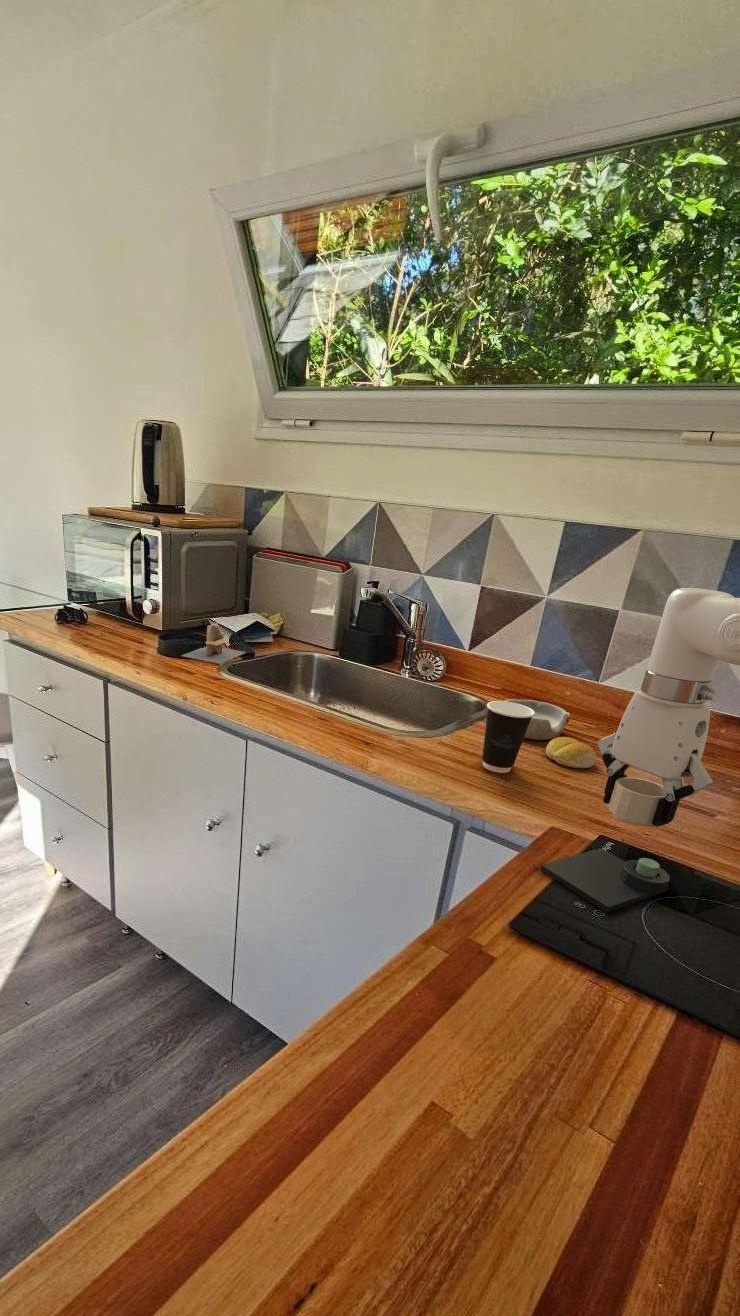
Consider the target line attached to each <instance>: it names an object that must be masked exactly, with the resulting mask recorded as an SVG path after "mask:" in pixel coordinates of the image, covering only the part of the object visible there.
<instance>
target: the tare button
mask: <svg viewBox="0 0 740 1316" xmlns="http://www.w3.org/2000/svg"><path fill="white" fill-rule="evenodd" d="M638 860H639V861H638V864H637V867H636V872H637V873H639V874H641V875H643V876H646V877H652V878H655V877H656V876H657V873H658V870H659V868H661V865H660V863H658V862H657V861H656V860H654V859H651V858H646V857H641V858H639V859H638Z"/></svg>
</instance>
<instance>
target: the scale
mask: <svg viewBox="0 0 740 1316" xmlns="http://www.w3.org/2000/svg"><path fill="white" fill-rule="evenodd" d="M638 861H639V859H629V860H623V859H621V858H620V857H617V856H616V855H615V854H612V853H611V852H609V851H607V850H606V849H604V848H601V847H600V848H597V849H593V850H589V851H586V852H582V853H579V854H575V855H572V856H568V857H564V858H561V859H557V860H555V861H554V860H553V861H551V862H547V863H544V864H541V866H540V870H539V871H541V872H542V873H544V874H545V875H547V876H549V877H550V878H552V879H553V880H555V881H556V882H558V883H559V884H561V885H562V886H564V887H565V888H567V889H569V890H570V891H572V892H573V893H575V894H577V896H580V897H581V898H583V899H584V900H586V901H587V902H589V903H591V904H592V905H593V906H595V907H597V908H599V910H601V911H603V912H605V913H607V914H608V913H611V912H614V911H616V910H619V909H622V908H624V907H627V906H630V905H632V904H635V903H639V902H641V901H643V900H646V899H650V898H652V897H655V896H657V895H660V894H663V893H666V892H668V889H669V884H670V879H671V876H670V874H668V872H667V871H666V870H665V869H664V868H661V867H660V868H659V870H658V873H657V876H656V877H655V878H652V877H646V876H643V875H641V874H639V873H637V872H636V867H637V864H638Z"/></svg>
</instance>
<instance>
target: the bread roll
mask: <svg viewBox="0 0 740 1316" xmlns="http://www.w3.org/2000/svg"><path fill="white" fill-rule="evenodd" d="M545 755H546V757H548V758H549V759H550V760H552V761H554V762H556V764H559V765H561V766H564V767H567V768H573V769H590V768H592V767H593V766H595V763H596V761H597V759H598V756H597V753H596V752H595V750H594V749H593V748H592V747H591V746H590V745H589V744H587V743H584V742H580V741H579V740H578V739H576V738H573V737H570V736H558V737H556V738H553V739H550V741H549V742H548V744H547V745H546V746H545Z"/></svg>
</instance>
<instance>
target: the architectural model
mask: <svg viewBox="0 0 740 1316" xmlns="http://www.w3.org/2000/svg"><path fill="white" fill-rule="evenodd" d="M224 637H225V633H224V632H222V631H221V629H220V627H219V622H215V623H212V624H210V625H207V626H206V641H205V644H206V645H205V646H206V647H205V646H203V647H204V648H202V647H200V648H197V649H195V650H191V651H190V652H187V653H183V654H181V657H185V658H189V659H190V658H191V659H194V660H195V659H196V660H200V661H205V662H209V663H215V664H220V665H222V664H223V663H227V662H229V661H232V660H233V659H235V658H238V657H240V656H242V655H245V654H246V653H247V651H241V650H236V649H231V648H226V647H224V643H227V642H229V639H228V638H224Z"/></svg>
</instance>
